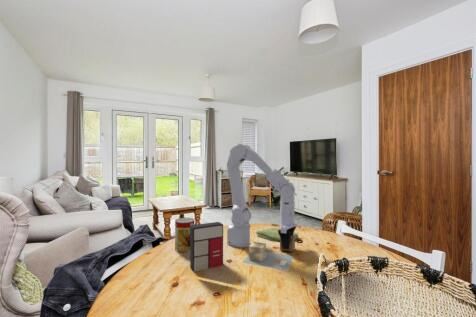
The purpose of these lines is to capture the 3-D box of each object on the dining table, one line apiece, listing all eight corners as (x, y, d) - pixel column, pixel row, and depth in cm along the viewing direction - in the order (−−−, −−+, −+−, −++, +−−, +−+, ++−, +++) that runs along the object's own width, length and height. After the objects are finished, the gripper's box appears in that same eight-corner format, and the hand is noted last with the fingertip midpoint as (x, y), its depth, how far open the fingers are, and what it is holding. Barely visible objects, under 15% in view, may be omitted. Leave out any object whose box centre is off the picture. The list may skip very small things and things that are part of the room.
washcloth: (271, 231, 124) (271, 225, 124) (300, 239, 111) (300, 232, 111) (254, 236, 116) (254, 229, 116) (282, 246, 102) (282, 239, 102)
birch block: (248, 259, 85) (249, 246, 85) (253, 254, 90) (253, 241, 90) (262, 262, 83) (262, 248, 83) (266, 256, 88) (266, 243, 88)
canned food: (196, 250, 97) (196, 221, 97) (177, 253, 93) (177, 223, 93) (191, 243, 104) (191, 216, 104) (173, 246, 100) (173, 218, 100)
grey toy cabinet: (193, 274, 76) (193, 228, 76) (189, 269, 80) (189, 225, 80) (224, 267, 81) (224, 224, 81) (219, 262, 85) (219, 221, 85)
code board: (242, 264, 83) (242, 262, 83) (254, 251, 95) (254, 249, 95) (286, 273, 77) (287, 270, 77) (293, 258, 89) (293, 255, 89)
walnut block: (280, 250, 93) (280, 237, 94) (282, 245, 98) (282, 233, 98) (292, 252, 92) (292, 239, 92) (294, 247, 96) (294, 235, 96)
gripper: (294, 217, 87) (294, 254, 87) (300, 210, 100) (299, 241, 100) (275, 215, 89) (275, 251, 89) (283, 208, 103) (283, 239, 103)
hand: (287, 246), depth 95 cm, fingers closed on walnut block, 5 cm apart
